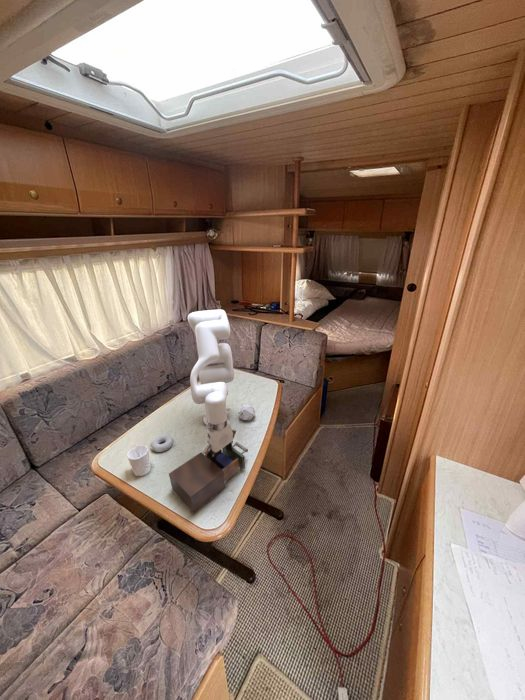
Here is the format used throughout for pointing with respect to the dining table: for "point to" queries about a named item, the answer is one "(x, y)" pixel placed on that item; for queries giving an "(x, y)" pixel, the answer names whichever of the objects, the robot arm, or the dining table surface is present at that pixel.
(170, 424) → the dining table surface
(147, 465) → the white cup
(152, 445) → the donut
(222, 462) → the tall navy block
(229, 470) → the drawer
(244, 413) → the die
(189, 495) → the cabinet
